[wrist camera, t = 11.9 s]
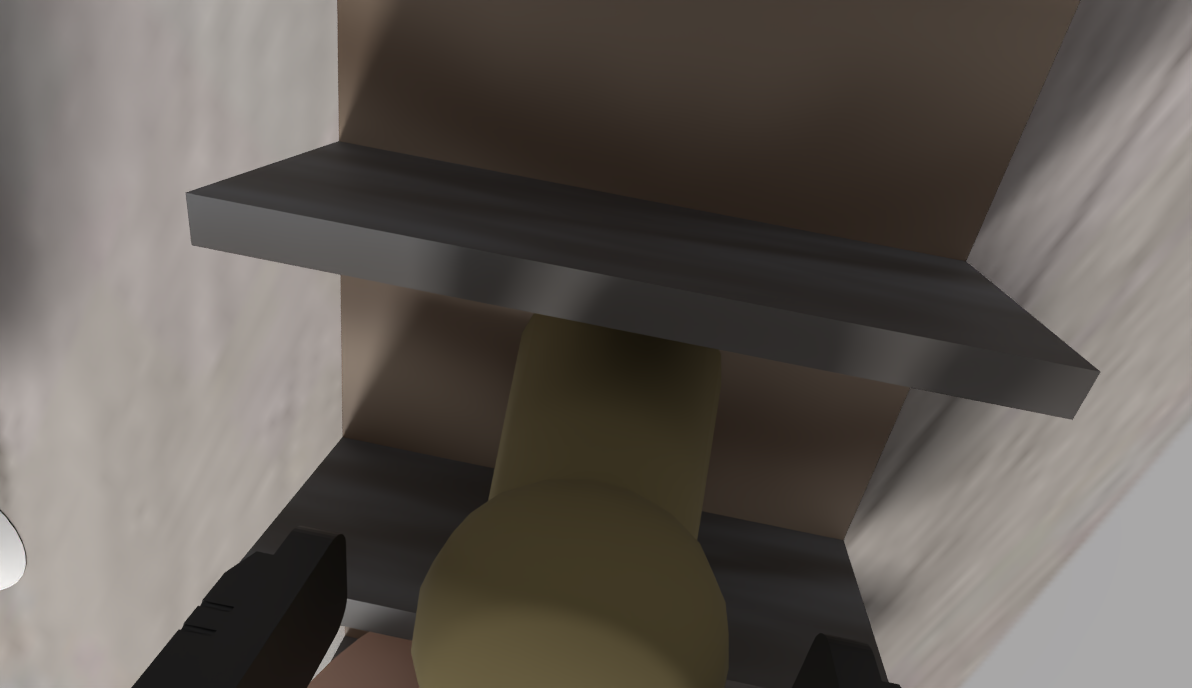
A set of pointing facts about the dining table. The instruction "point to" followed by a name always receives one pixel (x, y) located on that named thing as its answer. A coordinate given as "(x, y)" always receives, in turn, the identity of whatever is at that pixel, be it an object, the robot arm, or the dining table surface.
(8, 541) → the champagne flute
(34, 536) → the dining table surface
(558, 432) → the cork
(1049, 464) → the dining table surface
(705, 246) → the rack
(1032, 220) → the dining table surface
